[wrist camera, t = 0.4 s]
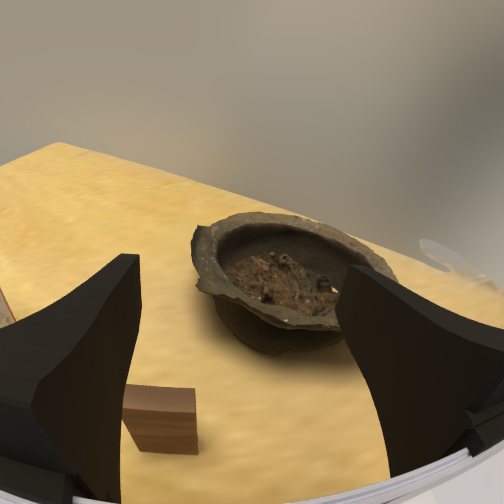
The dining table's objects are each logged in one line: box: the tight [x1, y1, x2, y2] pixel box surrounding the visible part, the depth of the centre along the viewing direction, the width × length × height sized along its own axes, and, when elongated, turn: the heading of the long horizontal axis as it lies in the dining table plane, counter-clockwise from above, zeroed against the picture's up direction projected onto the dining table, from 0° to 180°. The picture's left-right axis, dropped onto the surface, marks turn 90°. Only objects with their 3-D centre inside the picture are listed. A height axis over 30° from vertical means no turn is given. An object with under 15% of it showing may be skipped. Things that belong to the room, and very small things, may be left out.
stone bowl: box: [191, 212, 399, 354], centre depth 38 cm, size 25×25×9 cm
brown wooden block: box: [122, 384, 198, 455], centre depth 21 cm, size 2×5×9 cm, turn 95°
